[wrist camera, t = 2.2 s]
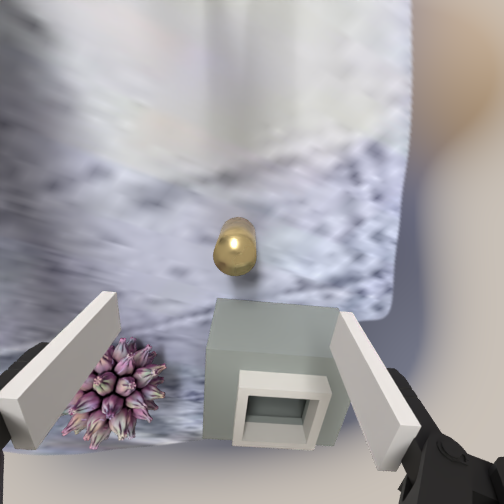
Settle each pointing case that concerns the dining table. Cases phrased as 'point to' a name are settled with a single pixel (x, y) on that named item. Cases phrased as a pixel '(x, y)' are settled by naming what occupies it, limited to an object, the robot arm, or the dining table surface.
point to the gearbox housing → (272, 376)
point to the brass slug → (236, 247)
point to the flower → (116, 394)
